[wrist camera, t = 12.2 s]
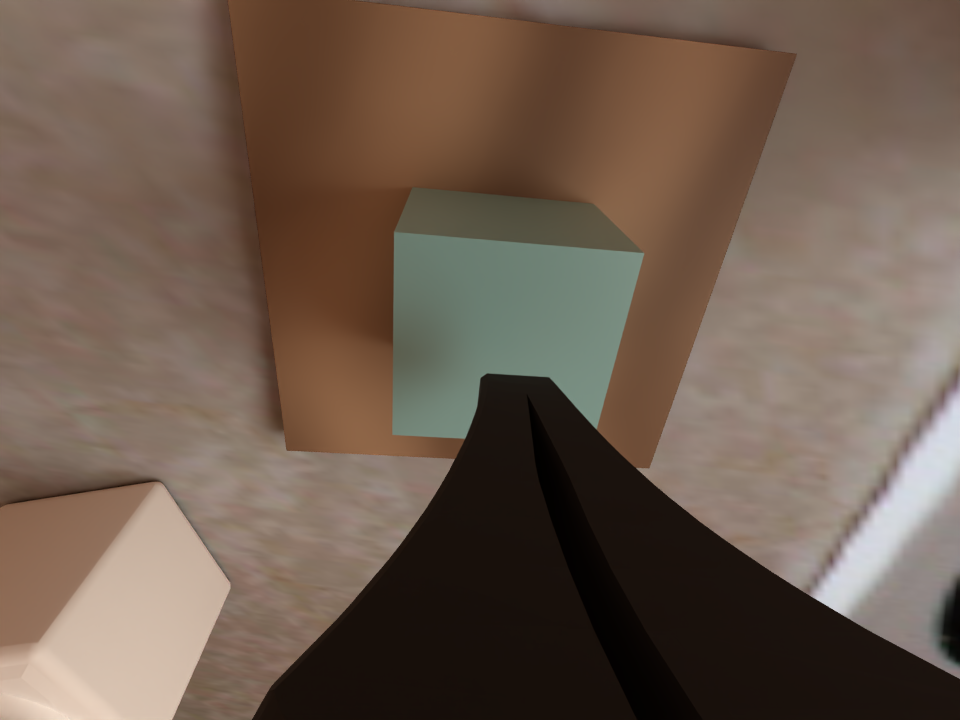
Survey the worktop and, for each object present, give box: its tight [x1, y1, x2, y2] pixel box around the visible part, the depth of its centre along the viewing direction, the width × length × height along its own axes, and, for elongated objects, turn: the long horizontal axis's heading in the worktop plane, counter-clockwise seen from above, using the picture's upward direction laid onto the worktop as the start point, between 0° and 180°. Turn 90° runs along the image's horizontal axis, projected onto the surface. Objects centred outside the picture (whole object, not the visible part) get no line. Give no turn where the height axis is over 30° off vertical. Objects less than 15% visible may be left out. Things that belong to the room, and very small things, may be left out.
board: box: [228, 0, 797, 468], centre depth 16 cm, size 14×14×1 cm
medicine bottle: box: [0, 482, 231, 720], centre depth 17 cm, size 7×7×12 cm
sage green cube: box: [392, 187, 644, 439], centre depth 13 cm, size 5×5×4 cm
